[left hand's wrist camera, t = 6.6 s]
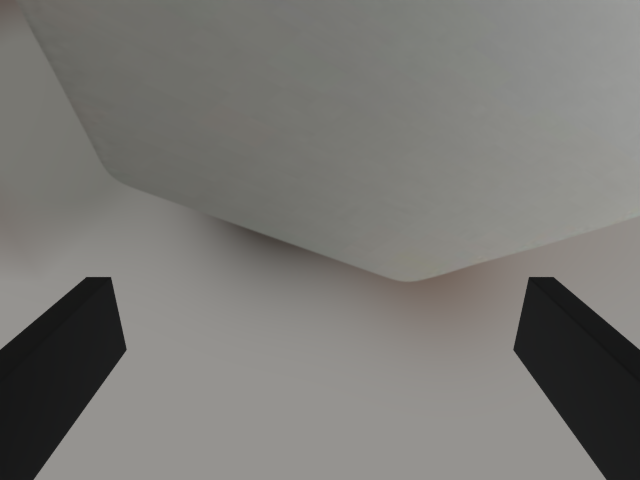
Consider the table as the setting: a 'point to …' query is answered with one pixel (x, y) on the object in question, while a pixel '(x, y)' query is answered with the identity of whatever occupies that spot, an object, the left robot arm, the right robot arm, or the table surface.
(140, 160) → the table surface
